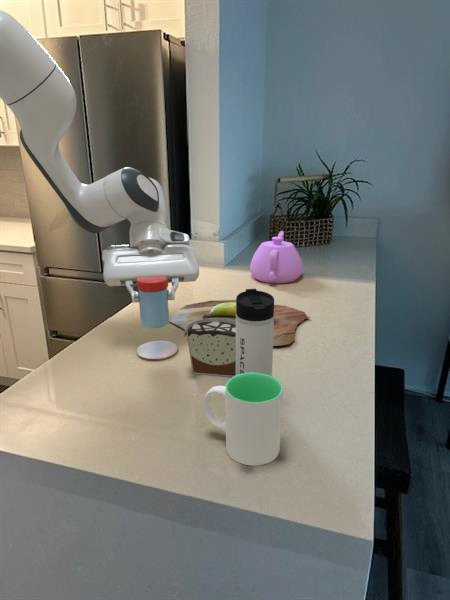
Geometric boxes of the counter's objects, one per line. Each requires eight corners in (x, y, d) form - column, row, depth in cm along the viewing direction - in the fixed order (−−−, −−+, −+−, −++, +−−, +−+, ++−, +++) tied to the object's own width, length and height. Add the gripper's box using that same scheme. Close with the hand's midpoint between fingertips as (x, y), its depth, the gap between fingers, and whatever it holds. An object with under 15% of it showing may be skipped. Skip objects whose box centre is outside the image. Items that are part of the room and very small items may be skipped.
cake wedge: (250, 363, 89) (251, 318, 86) (246, 378, 83) (247, 331, 80) (192, 358, 91) (191, 315, 88) (185, 373, 86) (183, 326, 82)
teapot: (300, 288, 135) (302, 245, 130) (244, 285, 138) (245, 243, 133) (303, 267, 158) (306, 230, 153) (255, 265, 161) (256, 228, 156)
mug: (193, 450, 64) (190, 389, 60) (215, 419, 71) (214, 363, 67) (270, 471, 60) (273, 407, 56) (285, 437, 67) (288, 378, 63)
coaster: (136, 362, 90) (136, 360, 90) (136, 344, 98) (136, 342, 98) (179, 358, 91) (179, 356, 91) (176, 340, 100) (176, 338, 99)
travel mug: (265, 389, 80) (268, 287, 73) (275, 410, 73) (279, 300, 67) (232, 393, 79) (232, 289, 72) (239, 414, 72) (240, 302, 66)
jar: (140, 329, 89) (137, 286, 86) (141, 318, 95) (137, 277, 91) (169, 327, 90) (167, 284, 87) (168, 316, 96) (166, 275, 92)
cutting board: (315, 310, 117) (316, 297, 116) (293, 353, 93) (293, 337, 92) (197, 295, 129) (197, 283, 128) (151, 330, 105) (150, 316, 104)
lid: (136, 292, 86) (136, 284, 85) (137, 282, 92) (136, 274, 91) (169, 290, 87) (168, 282, 86) (167, 281, 93) (166, 273, 92)
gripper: (100, 238, 91) (100, 296, 85) (196, 234, 94) (202, 290, 89) (103, 253, 97) (104, 309, 91) (194, 249, 100) (200, 303, 94)
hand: (153, 300), depth 90 cm, fingers closed on jar, 6 cm apart
